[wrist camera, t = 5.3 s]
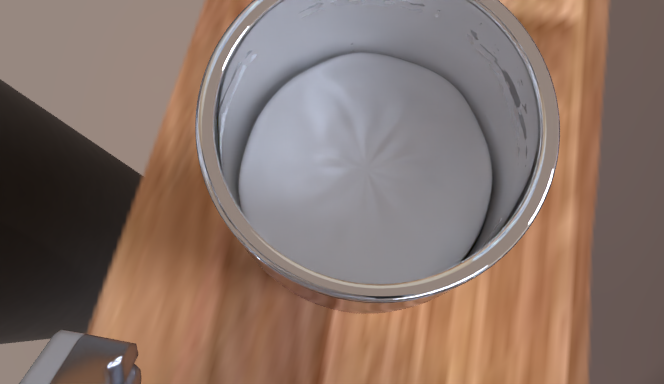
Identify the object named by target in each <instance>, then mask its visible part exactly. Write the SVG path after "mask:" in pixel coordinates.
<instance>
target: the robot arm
mask: <svg viewBox="0 0 664 384" xmlns="http://www.w3.org/2000/svg"><path fill="white" fill-rule="evenodd" d="M137 357H138V350H137V345H136V344H135V343H130V342H125V341H119V340H114V339H109V338H104V337H98V336H93V335H88V334H82V333H77V332H71V331H65V330H60V331H59V332H57V333H56V334H55V335H54V336H52V338H51V339H50V341H49V342H48V343H47V345H46V347H45V348H44V349H43V351H42V352H41V353H40V355H39V356H38V358H37V359H36V360H35V362H34V363H33V365H32V366H31V368H30V369H29V370H28V372H27V373H26V375H25V376H24V378H23V379H22V380H21V382H20V383H19V384H141V371H140V369H139V368H138V367H137V366H136V365H135V364H134V363H135V361H136V359H137Z"/></svg>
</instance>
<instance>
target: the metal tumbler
mask: <svg viewBox="0 0 664 384" xmlns="http://www.w3.org/2000/svg"><path fill="white" fill-rule="evenodd" d="M559 142H560V120H559V110H558V103H557V98H556V93H555V89H554V86H553V82H552V79H551V76H550V73H549V71H548V68H547V66H546V63H545V61H544V59H543V57H542V55H541V53H540V51H539V49H538V48H537V46H536V44H535V42H534V41H533V39H532V38H531V36H530V35H529V33H528V32H527V31H526V29H525V28H524V27H523V25H522V24H521V23H520V22H519V20H518V19H517V18H516V17H515V16H514V15H513V14H512V13H511V12H510V11H509V10H508V9H507V8H506V7H505V6H504V5H503V4H502V3H501V2H500V1H499V0H253V1H252V2H251V3H250V4H249V5H248V6H247V7H246V8H245V9H244V10H243V11H242V12H241V13H240V14H239V15H238V16H237V17H236V19H235V20H234V21H233V22H232V23H231V25H230V26H229V27H228V29H227V30H226V32H225V33H224V34H223V36H222V38H221V39H220V41H219V42H218V44H217V46H216V48H215V50H214V52H213V54H212V56H211V58H210V60H209V63H208V65H207V68H206V70H205V73H204V76H203V79H202V83H201V86H200V91H199V95H198V101H197V109H196V145H197V153H198V159H199V163H200V168H201V172H202V175H203V178H204V182H205V184H206V187H207V190H208V192H209V194H210V197H211V199H212V201H213V203H214V205H215V207H216V209H217V210H218V212H219V214H220V216H221V217H222V219H223V220H224V222H225V223H226V225H227V226H228V228H229V229H230V230H231V232H232V233H233V234H234V235H235V237H236V238H237V239H238V240H239V241H240V242H241V243H242V245H243V246H244V248H245V249H246V251H247V252H248V253H249V254H250V256H251V257H252V258H253V259H254V260H255V262H256V263H257V264H258V265H259V266H260V267H261V268H262V269H263V270H264V271H265V272H266V273H267V274H269V275H270V276H271V277H272V278H273V279H275V280H276V281H277V282H278V283H280V284H281V285H282V286H284V287H285V288H286V289H288V290H289V291H291V292H293V293H294V294H296V295H298V296H300V297H301V298H303V299H305V300H307V301H310V302H312V303H314V304H317V305H320V306H323V307H326V308H329V309H333V310H338V311H343V312H349V313H361V314H374V313H386V312H392V311H397V310H402V309H406V308H410V307H414V306H417V305H420V304H423V303H425V302H428V301H430V300H433V299H435V298H437V297H439V296H441V295H443V294H445V293H447V292H448V291H450V290H452V289H453V288H456V287H458V286H460V285H462V284H464V283H466V282H468V281H470V280H472V279H473V278H475V277H477V276H478V275H480V274H482V273H483V272H485V271H486V270H487V269H489V268H490V267H492V266H493V265H494V264H495V263H497V262H498V261H499V260H500V259H501V258H502V257H504V256H505V255H506V254H507V253H508V252H509V251H510V250H511V249H512V248H513V247H514V246H515V245H516V244H517V242H518V241H519V240H520V239H521V238H522V237H523V235H524V234H525V233H526V231H527V230H528V229H529V227H530V226H531V224H532V223H533V221H534V219H535V218H536V216H537V215H538V213H539V211H540V209H541V207H542V205H543V203H544V201H545V199H546V196H547V194H548V192H549V189H550V186H551V183H552V180H553V177H554V173H555V169H556V164H557V159H558V152H559Z"/></svg>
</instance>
